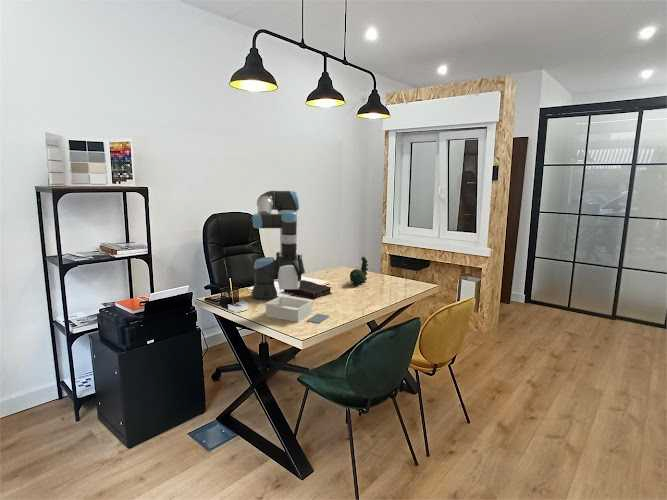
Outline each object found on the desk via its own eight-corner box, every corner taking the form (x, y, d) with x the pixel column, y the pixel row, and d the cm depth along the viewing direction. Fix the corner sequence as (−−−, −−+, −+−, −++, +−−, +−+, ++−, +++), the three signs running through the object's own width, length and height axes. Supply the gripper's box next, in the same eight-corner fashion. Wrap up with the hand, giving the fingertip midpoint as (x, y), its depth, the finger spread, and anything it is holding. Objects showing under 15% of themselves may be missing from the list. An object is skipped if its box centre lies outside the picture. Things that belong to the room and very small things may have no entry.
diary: (313, 301, 233) (313, 292, 232) (283, 293, 248) (283, 285, 247) (333, 294, 247) (333, 286, 247) (303, 287, 263) (303, 279, 262)
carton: (263, 317, 201) (263, 304, 199) (282, 307, 218) (282, 295, 217) (295, 323, 193) (295, 310, 192) (313, 312, 210) (313, 299, 209)
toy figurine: (357, 281, 285) (345, 286, 262) (359, 255, 284) (347, 258, 261) (370, 283, 282) (359, 288, 259) (372, 256, 280) (360, 259, 257)
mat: (306, 321, 197) (306, 320, 197) (317, 314, 208) (317, 313, 207) (319, 323, 194) (319, 322, 194) (329, 316, 205) (329, 315, 205)
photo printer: (278, 290, 201) (278, 266, 198) (279, 287, 205) (278, 264, 203) (299, 290, 202) (299, 266, 200) (298, 287, 206) (299, 264, 204)
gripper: (266, 241, 200) (266, 284, 204) (305, 245, 191) (304, 290, 195) (274, 239, 207) (274, 281, 211) (312, 243, 198) (311, 286, 202)
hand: (288, 285), depth 203 cm, fingers closed on photo printer, 10 cm apart
